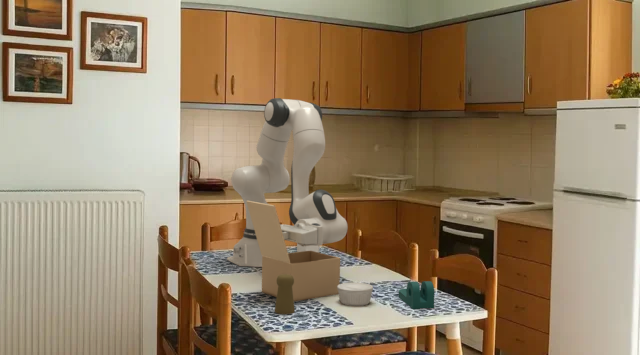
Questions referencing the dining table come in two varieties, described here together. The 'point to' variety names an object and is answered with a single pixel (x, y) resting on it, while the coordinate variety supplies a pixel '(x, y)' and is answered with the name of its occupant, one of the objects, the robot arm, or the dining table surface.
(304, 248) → the milk carton
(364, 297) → the ramekin
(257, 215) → the carton flap
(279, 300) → the olive pepper mill
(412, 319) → the dining table surface
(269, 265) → the kraft carton
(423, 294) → the bracket
